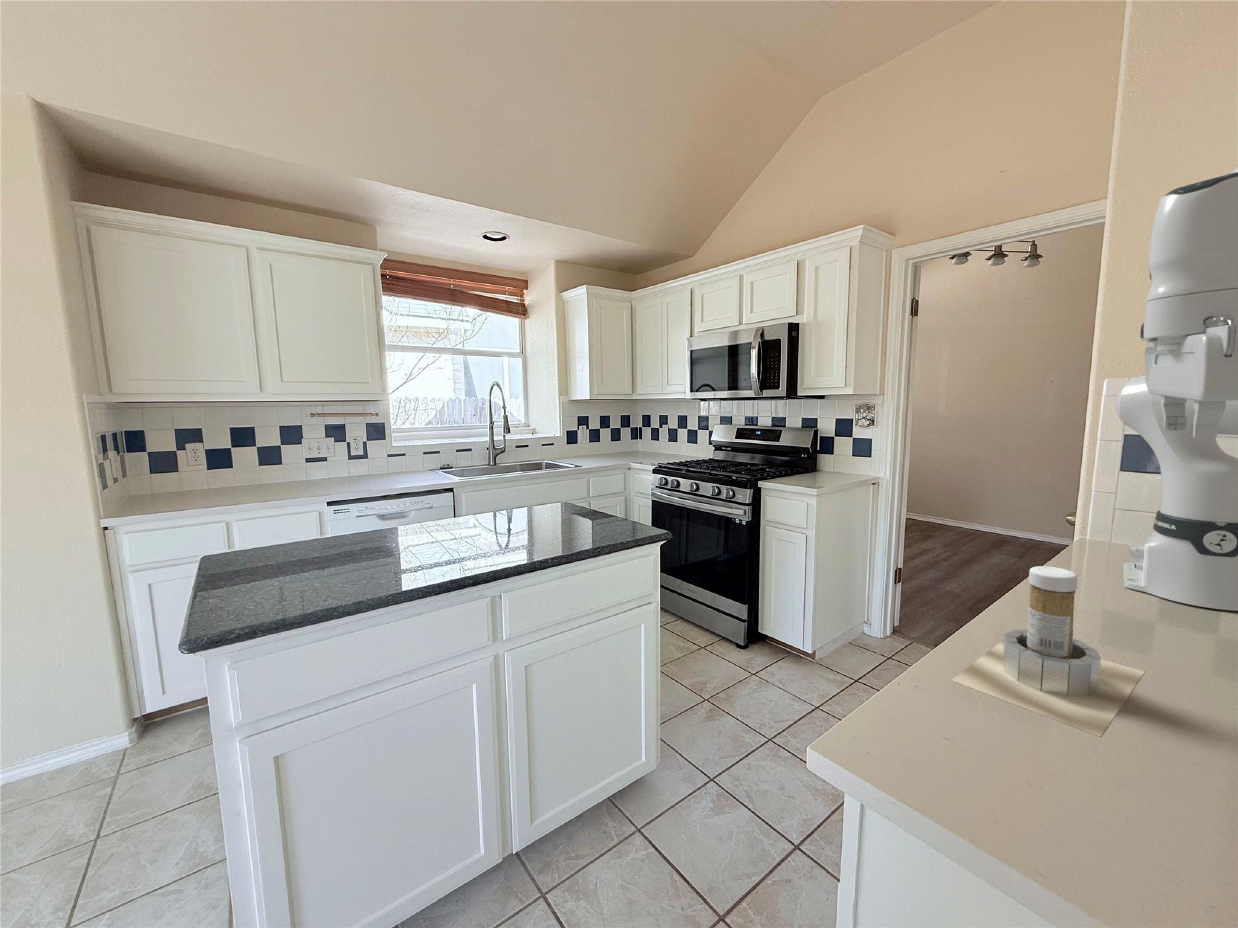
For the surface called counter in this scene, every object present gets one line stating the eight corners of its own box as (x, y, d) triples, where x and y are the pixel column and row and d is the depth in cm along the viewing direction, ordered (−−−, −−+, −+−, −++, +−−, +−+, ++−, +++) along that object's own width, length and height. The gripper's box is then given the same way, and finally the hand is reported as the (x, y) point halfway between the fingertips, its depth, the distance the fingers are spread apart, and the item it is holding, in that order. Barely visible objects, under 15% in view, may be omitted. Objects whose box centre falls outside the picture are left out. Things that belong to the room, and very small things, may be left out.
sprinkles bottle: (1074, 673, 65) (1082, 570, 63) (1065, 686, 62) (1072, 579, 60) (1029, 660, 68) (1035, 562, 67) (1018, 672, 66) (1024, 570, 64)
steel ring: (1000, 652, 71) (1002, 624, 70) (1087, 668, 66) (1089, 638, 65) (1006, 683, 63) (1008, 653, 63) (1105, 704, 58) (1108, 671, 58)
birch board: (1010, 641, 76) (1011, 633, 76) (1143, 680, 65) (1144, 671, 64) (951, 688, 65) (951, 680, 64) (1099, 747, 53) (1100, 736, 53)
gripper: (1281, 308, 52) (1268, 444, 54) (1201, 322, 68) (1193, 425, 70) (1190, 317, 55) (1181, 445, 57) (1136, 328, 72) (1130, 426, 74)
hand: (1187, 434), depth 64 cm, fingers open, 8 cm apart
